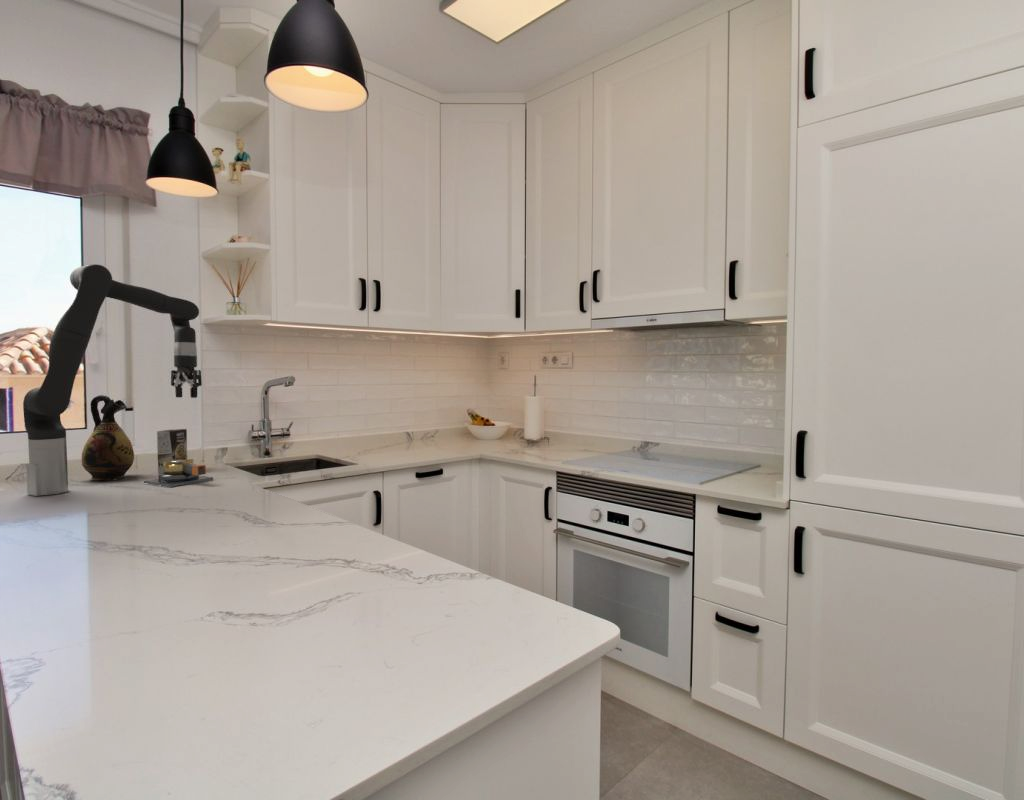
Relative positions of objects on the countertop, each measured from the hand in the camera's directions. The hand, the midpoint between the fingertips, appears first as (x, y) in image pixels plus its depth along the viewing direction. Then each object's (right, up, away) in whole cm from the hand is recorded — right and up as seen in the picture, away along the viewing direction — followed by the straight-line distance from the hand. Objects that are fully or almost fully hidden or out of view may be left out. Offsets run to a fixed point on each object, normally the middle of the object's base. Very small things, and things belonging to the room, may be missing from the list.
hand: (186, 397), depth 213 cm
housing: (+9, -29, -19) cm, 36 cm away
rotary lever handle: (+12, -26, -21) cm, 36 cm away
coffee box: (-7, -29, +3) cm, 30 cm away
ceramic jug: (-22, -29, -12) cm, 38 cm away
